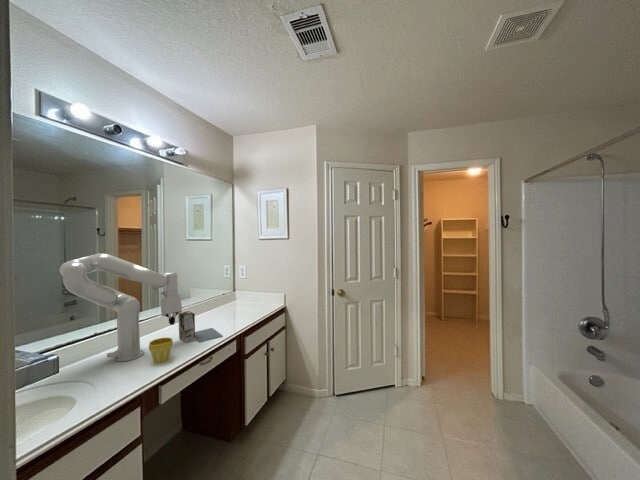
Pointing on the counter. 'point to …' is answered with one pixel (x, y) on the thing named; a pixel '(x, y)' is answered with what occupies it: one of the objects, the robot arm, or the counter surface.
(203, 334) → the mat
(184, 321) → the coffee box
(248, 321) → the counter surface
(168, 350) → the plant pot
